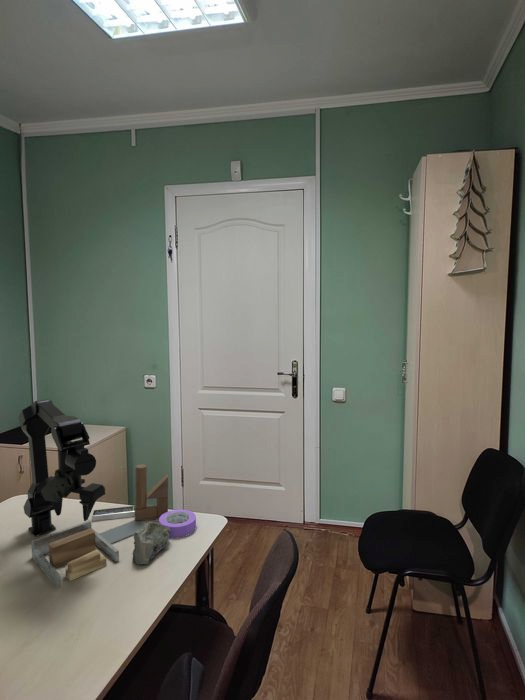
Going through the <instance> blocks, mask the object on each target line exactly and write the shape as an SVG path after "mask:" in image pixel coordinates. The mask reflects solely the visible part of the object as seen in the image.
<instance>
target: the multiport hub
mask: <svg viewBox="0 0 525 700" xmlns="http://www.w3.org/2000/svg"><path fill="white" fill-rule="evenodd" d="M126 518H127V519H128V518H135V505H131V506H130V505H129V506H120V507H111V508H101V509H95V510H93V511H92V514H91V522H99V521H107V520H117V519H118V520H119V519H126Z"/></svg>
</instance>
